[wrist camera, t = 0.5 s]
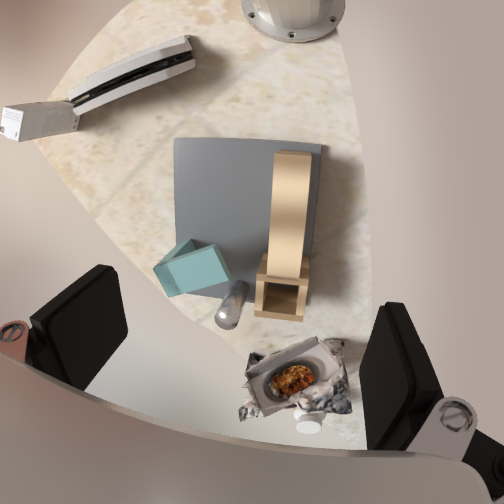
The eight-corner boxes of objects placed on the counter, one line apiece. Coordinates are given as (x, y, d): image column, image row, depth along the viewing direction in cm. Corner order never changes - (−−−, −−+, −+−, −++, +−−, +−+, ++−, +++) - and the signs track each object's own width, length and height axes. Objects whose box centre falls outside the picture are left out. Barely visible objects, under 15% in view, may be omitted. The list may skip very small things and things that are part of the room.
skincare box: (83, 106, 36) (25, 109, 25) (77, 133, 38) (19, 143, 27) (59, 100, 36) (3, 103, 25) (53, 125, 38) (-2, 134, 27)
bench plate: (177, 138, 36) (173, 138, 35) (321, 144, 33) (321, 145, 32) (182, 288, 45) (179, 292, 44) (302, 304, 42) (302, 308, 41)
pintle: (229, 278, 41) (214, 308, 34) (249, 281, 41) (237, 312, 34) (229, 296, 42) (214, 327, 35) (248, 298, 42) (237, 331, 35)
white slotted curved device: (191, 33, 30) (163, 37, 23) (201, 64, 33) (175, 77, 26) (91, 75, 34) (49, 93, 26) (100, 101, 37) (62, 124, 29)
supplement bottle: (330, 377, 47) (331, 421, 38) (321, 396, 49) (319, 438, 41) (301, 372, 48) (297, 416, 39) (292, 391, 50) (288, 433, 41)
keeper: (243, 251, 39) (228, 280, 32) (191, 268, 42) (168, 297, 34) (231, 223, 38) (213, 247, 31) (178, 242, 40) (152, 268, 33)
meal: (260, 368, 49) (246, 429, 37) (250, 350, 47) (232, 412, 35) (346, 348, 44) (352, 413, 32) (340, 328, 43) (346, 394, 31)
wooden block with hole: (303, 296, 40) (302, 321, 35) (261, 291, 41) (254, 316, 36) (320, 153, 33) (322, 157, 27) (270, 148, 33) (263, 152, 28)
